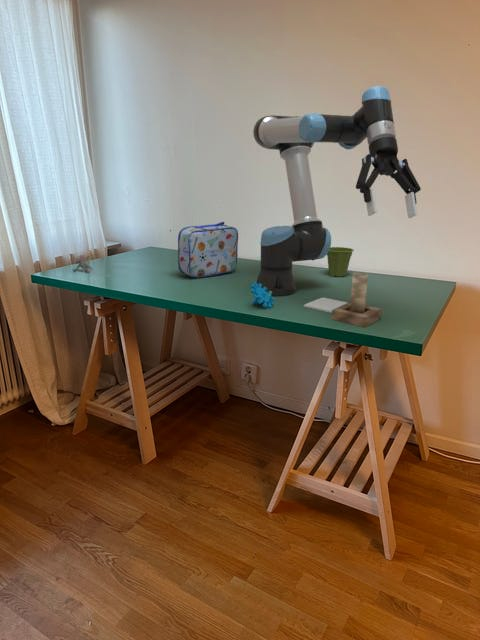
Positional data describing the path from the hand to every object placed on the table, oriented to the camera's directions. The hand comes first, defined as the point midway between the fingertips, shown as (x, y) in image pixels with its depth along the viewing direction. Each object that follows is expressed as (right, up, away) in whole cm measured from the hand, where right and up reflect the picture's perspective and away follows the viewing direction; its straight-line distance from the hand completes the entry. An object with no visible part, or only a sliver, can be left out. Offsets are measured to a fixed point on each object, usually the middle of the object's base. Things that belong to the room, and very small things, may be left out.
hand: (392, 215), depth 122 cm
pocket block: (-6, -28, +16) cm, 33 cm away
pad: (-12, -24, +28) cm, 39 cm away
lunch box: (-55, -9, +71) cm, 90 cm away
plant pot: (0, -9, +71) cm, 71 cm away
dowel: (-6, -28, +16) cm, 33 cm away
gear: (-34, -24, +29) cm, 50 cm away
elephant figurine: (-110, -7, +76) cm, 133 cm away
